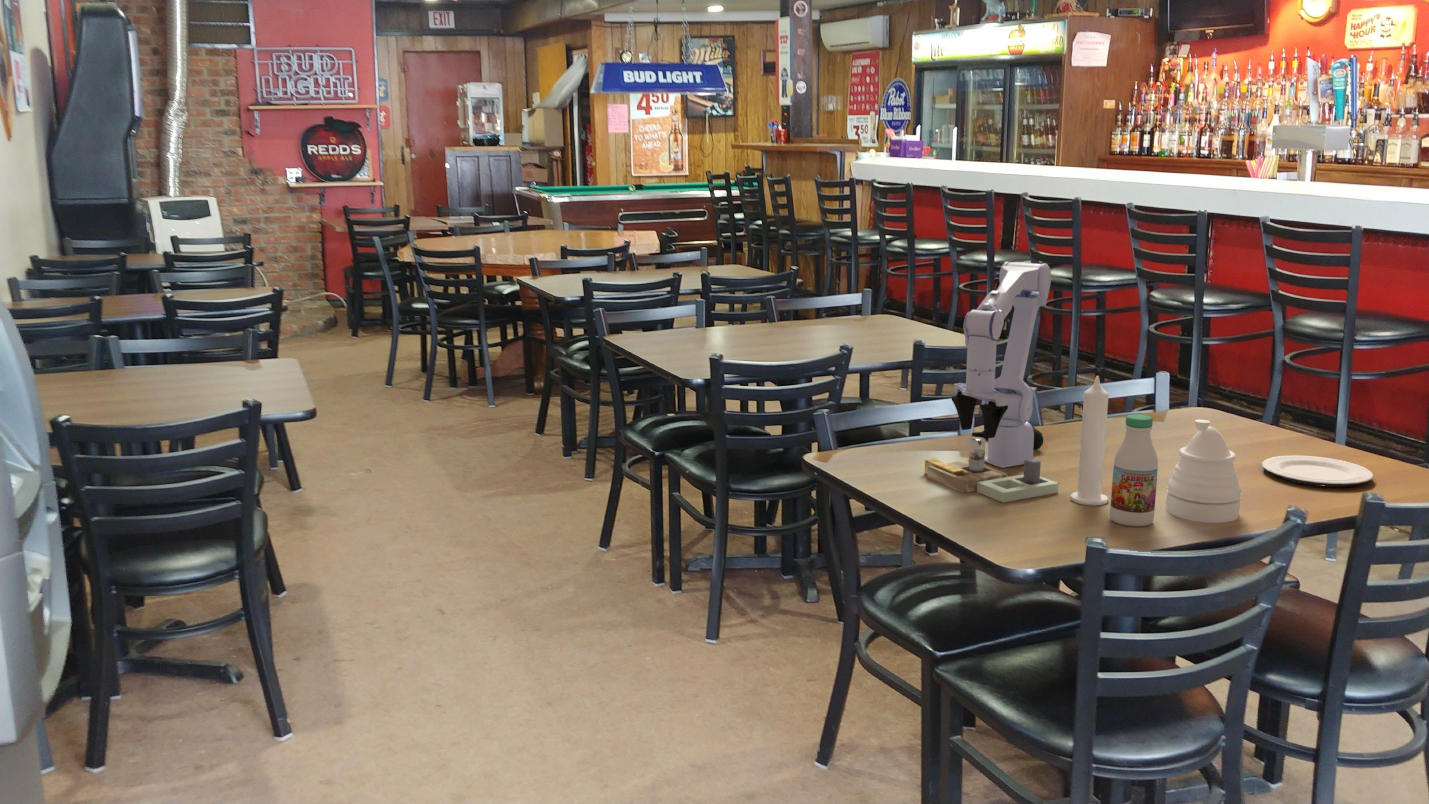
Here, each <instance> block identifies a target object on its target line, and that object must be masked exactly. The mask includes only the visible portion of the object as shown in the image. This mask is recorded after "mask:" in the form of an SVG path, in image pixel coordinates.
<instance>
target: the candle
mask: <svg viewBox="0 0 1429 804" xmlns="http://www.w3.org/2000/svg"><path fill="white" fill-rule="evenodd" d="M1109 395H1110V394H1109V391H1107V390H1105V389H1104V388H1103V387H1102V384H1101V381H1100V376H1099V375H1096V376H1095V378H1094V383H1093V384H1092V386H1090V387H1089V388H1088V389H1086V390H1085V391H1083V405H1082V417H1081V431H1080V432H1081V433H1080V434H1081V435H1080V446H1079V447H1080V449H1079V463H1078V464H1079V465H1078V478H1077V480H1078V481H1077V491H1074V492H1072V493H1070V496H1069V499H1070V501H1072V502H1073V503H1076V504H1078V505H1079V504H1080V505H1084V506H1102V505H1106V504H1108V501H1109V496H1107V495H1105V494H1103V492H1102V490H1103V481H1104V479H1103V477H1104V467H1105V465H1104V464H1105V461H1104V460H1105V453H1106V449H1105V448H1106V436H1107V424H1108V422H1107V421H1108V409H1109V408H1108V407H1109Z"/></svg>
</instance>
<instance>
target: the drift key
mask: <svg viewBox="0 0 1429 804" xmlns="http://www.w3.org/2000/svg"><path fill="white" fill-rule="evenodd" d="M928 466H934V467H936V468H939V469H941V470H944V471H946V472H949V473H951V474H953V475H956V476H958V477H959V476H963V473H964V470H962V469H959V468H957V467H954V466H952V465H949V464H947V462H944V461H942V460H939V459H938V458H937V459H936V458H928V459H924V474H925V475H927V476H928Z"/></svg>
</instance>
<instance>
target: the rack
mask: <svg viewBox="0 0 1429 804" xmlns="http://www.w3.org/2000/svg"><path fill="white" fill-rule="evenodd" d="M1041 465H1042V463H1041V460H1039V459H1034V458H1033V459H1026V460H1024V464H1023V473H1022V474H1018V475H1012V476H1007V477H1005V478H999V479H993V480H987V481H981V482H977V491H976V493H979V494H982V495H984V496H986V497H989V498H991V499H993V500H995V501H998V502H1000V503H1007V502H1013V501H1017V500H1025V499H1030V498H1035V497H1041V496H1042V497H1043V496H1046V495H1047V496H1048V495H1053V494H1058V493H1059V485H1060V484H1059V482H1057V481H1053V480H1051V479H1048V478H1045V477H1043V476H1041Z"/></svg>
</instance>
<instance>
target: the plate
mask: <svg viewBox="0 0 1429 804" xmlns="http://www.w3.org/2000/svg"><path fill="white" fill-rule="evenodd" d="M1261 466H1262V468H1263V469H1264V470H1265V471H1267V473H1268V472H1269V473H1270V474H1272V475H1275V476H1278V477H1279V478H1281V477H1282V478H1281V479H1284V480H1286V479H1287V481H1289V480H1290V482H1293V481H1295V482H1294V483H1297V482H1300V483H1299V484H1301V483H1305V484H1304V485H1307V484H1312V485H1311V486H1314V485H1325V486H1343V487H1347V486H1346V485H1350V486H1355V485H1360V484H1366V483H1368V482H1370V481H1371V480H1373V479H1374V474H1373V472H1372V471H1371V470H1369V469H1368V468H1366V467H1364V466H1362V465H1359V464H1356V463H1353V462H1349V461H1347V460H1346V461H1345V460H1341V459H1336V458H1331V457H1323V456H1315V455H1312V456H1311V455H1298V454H1297V455H1292V454H1291V455H1278V456H1272V457H1269V458H1266V459H1264V460H1263V461H1262V463H1261Z"/></svg>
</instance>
